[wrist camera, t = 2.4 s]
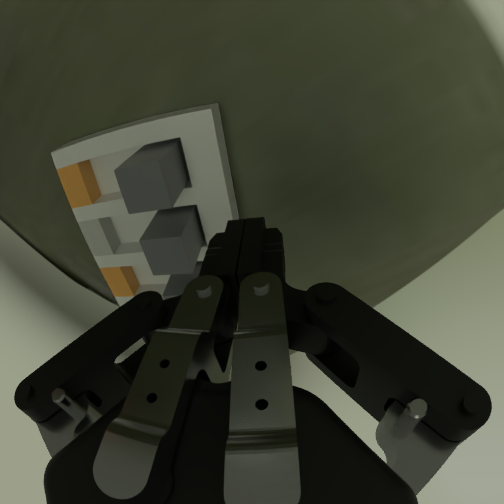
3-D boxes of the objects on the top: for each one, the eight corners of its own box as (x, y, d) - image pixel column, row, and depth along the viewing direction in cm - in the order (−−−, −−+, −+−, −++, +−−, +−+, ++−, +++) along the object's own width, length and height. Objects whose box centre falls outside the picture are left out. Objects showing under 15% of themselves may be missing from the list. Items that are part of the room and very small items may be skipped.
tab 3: (187, 281, 33) (174, 322, 28) (178, 255, 31) (162, 295, 26) (219, 279, 32) (209, 321, 28) (211, 252, 30) (200, 294, 26)
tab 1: (154, 181, 26) (128, 214, 21) (144, 144, 24) (113, 170, 19) (191, 175, 25) (172, 208, 21) (182, 136, 23) (158, 161, 19)
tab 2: (171, 235, 29) (153, 275, 25) (161, 204, 27) (138, 240, 23) (206, 232, 29) (192, 273, 24) (197, 199, 27) (180, 236, 22)
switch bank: (128, 290, 36) (120, 307, 34) (67, 142, 25) (50, 152, 22) (252, 285, 34) (250, 304, 32) (217, 102, 23) (211, 108, 20)
